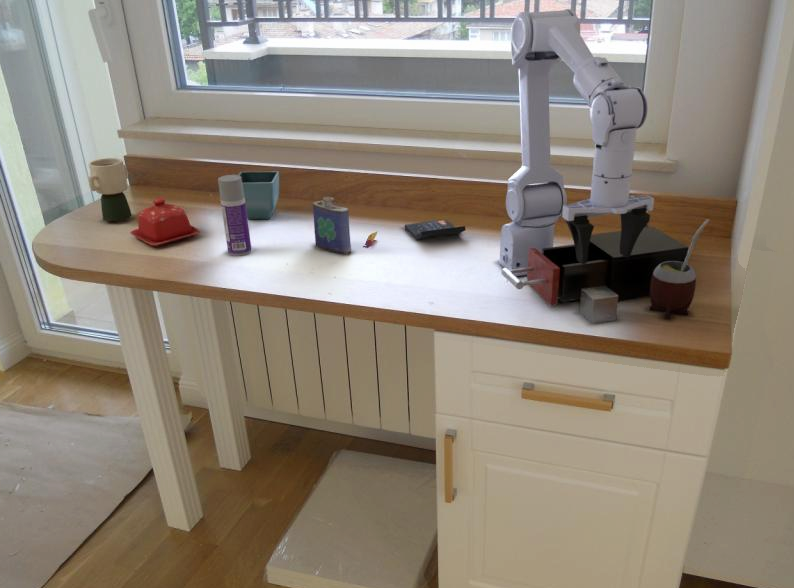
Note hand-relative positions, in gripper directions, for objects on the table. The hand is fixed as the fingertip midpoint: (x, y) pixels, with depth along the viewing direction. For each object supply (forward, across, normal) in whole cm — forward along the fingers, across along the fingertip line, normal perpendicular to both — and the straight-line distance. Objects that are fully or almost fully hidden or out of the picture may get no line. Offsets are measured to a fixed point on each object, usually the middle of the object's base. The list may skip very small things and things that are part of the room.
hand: (603, 258), depth 127 cm
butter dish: (+10, -67, +65) cm, 94 cm away
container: (+10, -53, +51) cm, 74 cm away
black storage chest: (+10, +12, +10) cm, 18 cm away
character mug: (+10, -77, +81) cm, 112 cm away
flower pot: (+10, -46, +72) cm, 86 cm away
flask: (+10, -35, +46) cm, 59 cm away
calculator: (+10, -13, +47) cm, 50 cm away
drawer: (+9, -2, +10) cm, 14 cm away
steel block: (+10, 0, 0) cm, 10 cm away
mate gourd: (+10, +12, -2) cm, 16 cm away
